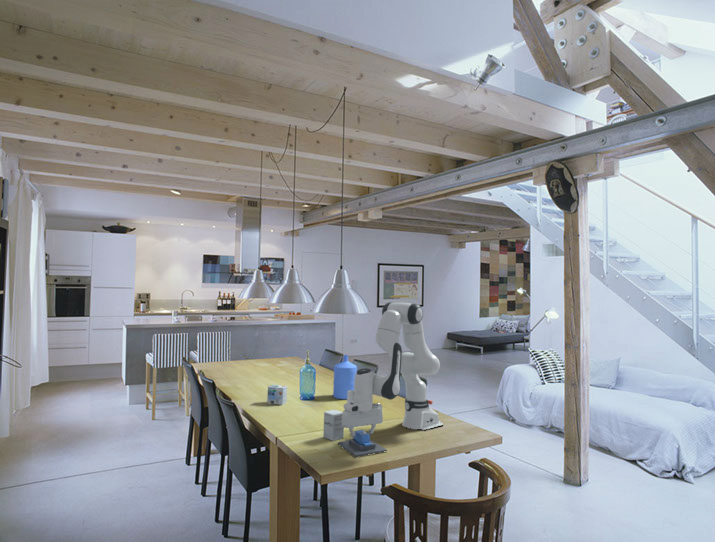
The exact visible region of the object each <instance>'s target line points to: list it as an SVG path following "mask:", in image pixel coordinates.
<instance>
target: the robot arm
mask: <svg viewBox="0 0 715 542" xmlns="http://www.w3.org/2000/svg"><path fill="white" fill-rule="evenodd" d="M423 317H424V311H423V308H422V307H421V305H419V304H417V303H411V302H393V301H391V302H386V303H385V304H384V305H383V307H382V310H381V317H380V320H379V324H378V326H377V330H376V334H375V342H376V344H377V345H378V347H379V348H380V349H381V350H383V351H384V352H386V353H387V354H388V356H389V364H388V365H389V366H388V367H389V368H388V375H387V376H385V375H381V374H378V373H375V372H373V371H372V369H370V368H360V369H357V372H356V374H355V379H354V391H355V395H354V400H352V401H350V402H348V403H347V402H346V403H345V404H343V409H344V410H343V411H342V412H343V414H342V426H343V427H344V429H348V430H349V432H350V437H352V438H353V437H355V436H356V435H355V434H356V433H355V431H354V428H357V427H364V426H371V428H369V429H368V434H370V435H373V434H374V430H375V428H376V427H377V425H378V424H379V425H380V424H382V423H383V422H384V421H383V420H384V418H383V417H384V415H383V405H382V404H381V403H380V402H377V403H375V402H374V401H373V400H374V399H373V398H374V397H373V395H374V396H377V397H382V398H385V399H387V400H390V401H391V400H393V399H395V398H396V397H398V396H399V394H400V392H401V376H402V377H403V380H404V382H405V398H404V408H405V410H404V417H403V421H402V426H403V427H404V428H406V427H407V429H410V428H411V429H410V430H417V429H422V430H421V431H424V430H426V429H430V428H434V427H437V426H440V425H443V426H444V423H443V422H442V421H440V417H439V414H438V412H436V411H435V410H434V409H433V408H432V407H431V406H430V405H433V400H431V399H427V391H428V388H427V385H426V383H425V382H424V381H423V380H422V379H421V378H420V377H419V375H422V376H433V375H436V374H438V373H439V371H440V369H441V361H440V360H439V358H438V357H437V356H436V355H435V354H433V353H432V351H431V350H430V348H429V347H428V345H427V343H426V338H425V332H424V331H425V330H424V325H423ZM401 326H402V335H403V336H402V337H403V343H404V346H405V347H406V348H407V349H409V350H410V351H411V352H408V351H406V352H403V349H402V345H400V338H399V337H400V334H401ZM434 429H435V428H434ZM430 430H431V429H430ZM426 431H427V430H426Z"/></svg>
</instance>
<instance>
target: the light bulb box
mask: <svg viewBox="0 0 715 542" xmlns="http://www.w3.org/2000/svg"><path fill="white" fill-rule="evenodd" d="M266 397H267V399H266V404H267V403H271V404H270V405H274V404H279V405H278V406H283V404H284V405H286V404H287V403H288V401H287V397H288V385H281V384H280V385H279V384H270V385H269V386H268V387H267V396H266ZM286 402H287V403H286ZM285 403H286V404H285Z"/></svg>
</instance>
